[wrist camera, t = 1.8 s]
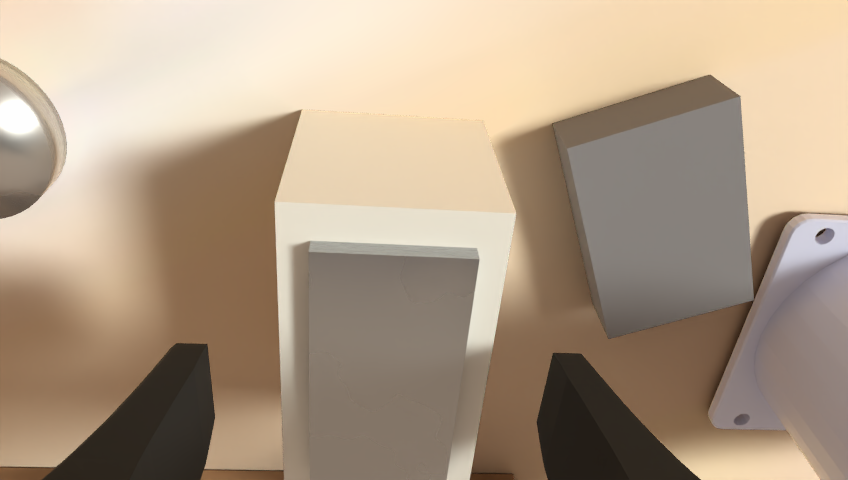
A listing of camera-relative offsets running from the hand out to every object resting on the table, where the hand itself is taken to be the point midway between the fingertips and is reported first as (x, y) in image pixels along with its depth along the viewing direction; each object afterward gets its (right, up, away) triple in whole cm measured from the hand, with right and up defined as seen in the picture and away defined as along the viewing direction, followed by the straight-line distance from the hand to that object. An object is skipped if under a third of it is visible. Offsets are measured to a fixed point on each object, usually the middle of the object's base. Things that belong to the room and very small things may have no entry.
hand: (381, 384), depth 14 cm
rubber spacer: (+7, +4, +4) cm, 9 cm away
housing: (0, +3, +5) cm, 5 cm away
